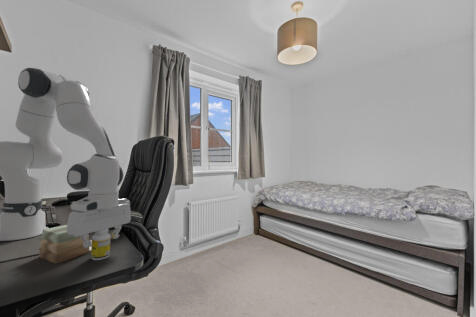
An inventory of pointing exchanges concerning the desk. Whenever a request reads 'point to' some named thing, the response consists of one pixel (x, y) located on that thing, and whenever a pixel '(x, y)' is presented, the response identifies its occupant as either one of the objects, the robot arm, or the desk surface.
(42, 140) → the robot arm
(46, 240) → the brick tower
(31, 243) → the desk surface
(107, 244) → the supplement bottle
